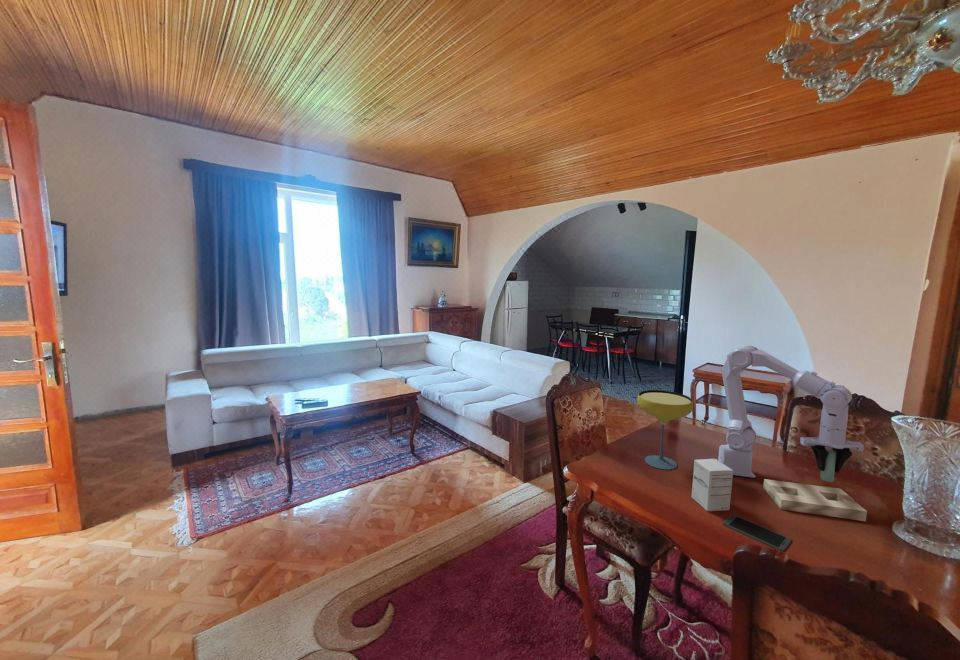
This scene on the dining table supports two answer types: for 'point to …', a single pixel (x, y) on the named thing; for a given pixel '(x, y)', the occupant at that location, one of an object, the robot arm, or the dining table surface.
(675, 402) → the cocktail glass
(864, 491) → the dining table surface
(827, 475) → the peg
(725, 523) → the cell phone
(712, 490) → the supplement box
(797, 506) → the hole block
